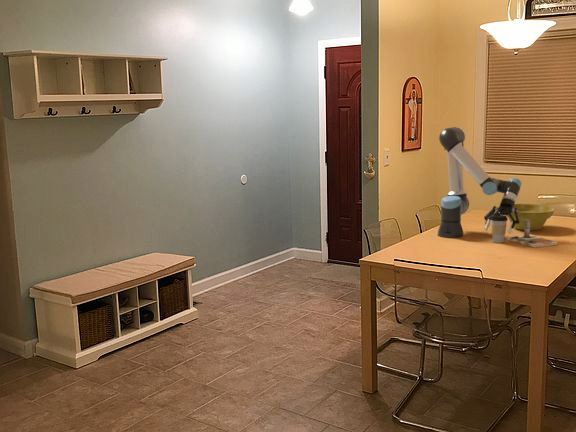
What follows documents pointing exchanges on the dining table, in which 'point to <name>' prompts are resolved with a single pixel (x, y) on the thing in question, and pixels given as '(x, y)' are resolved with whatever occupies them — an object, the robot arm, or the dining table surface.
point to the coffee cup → (498, 228)
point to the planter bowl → (532, 215)
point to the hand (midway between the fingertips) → (497, 231)
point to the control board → (531, 238)
